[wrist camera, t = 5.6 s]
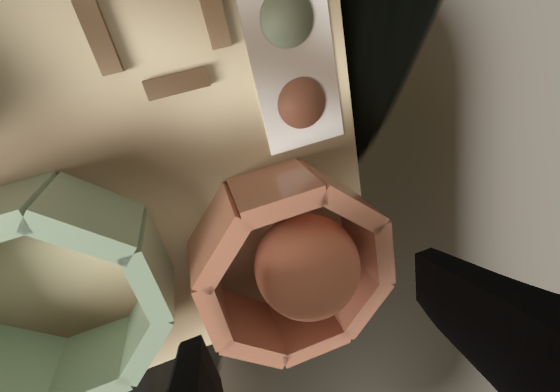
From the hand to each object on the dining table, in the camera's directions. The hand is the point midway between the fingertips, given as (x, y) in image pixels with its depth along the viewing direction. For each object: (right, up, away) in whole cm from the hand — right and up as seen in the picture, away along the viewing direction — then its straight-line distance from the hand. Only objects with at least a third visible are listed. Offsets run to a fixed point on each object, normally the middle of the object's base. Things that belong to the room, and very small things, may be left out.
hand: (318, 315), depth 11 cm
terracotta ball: (-1, +2, +4) cm, 4 cm away
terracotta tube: (-1, +2, +5) cm, 5 cm away
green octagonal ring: (-9, +1, +2) cm, 10 cm away
